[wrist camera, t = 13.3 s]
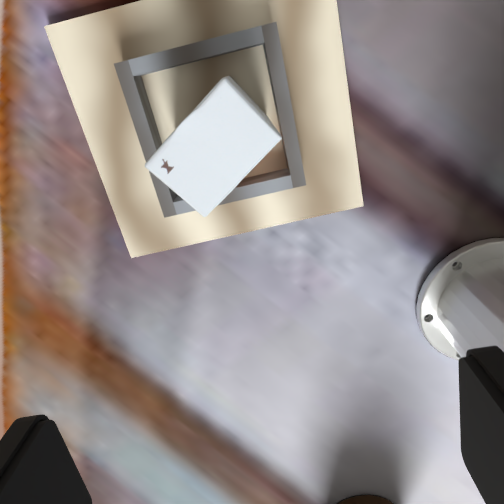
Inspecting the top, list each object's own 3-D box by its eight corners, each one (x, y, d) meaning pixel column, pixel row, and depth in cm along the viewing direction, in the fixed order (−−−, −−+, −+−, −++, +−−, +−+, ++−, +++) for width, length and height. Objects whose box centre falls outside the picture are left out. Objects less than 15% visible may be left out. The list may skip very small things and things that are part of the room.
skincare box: (215, 172, 33) (202, 222, 22) (174, 133, 32) (139, 166, 21) (270, 115, 32) (285, 138, 21) (229, 72, 31) (222, 72, 20)
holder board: (326, -47, 29) (337, -62, 26) (360, 202, 36) (372, 215, 32) (50, 27, 30) (27, 22, 27) (134, 253, 37) (123, 270, 34)
